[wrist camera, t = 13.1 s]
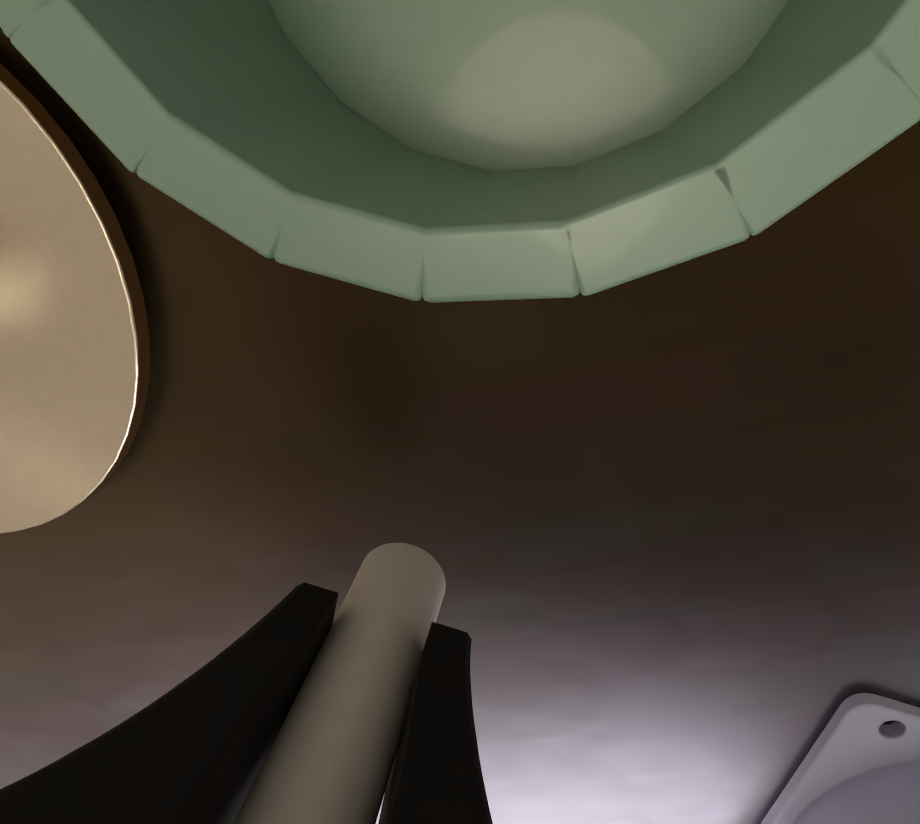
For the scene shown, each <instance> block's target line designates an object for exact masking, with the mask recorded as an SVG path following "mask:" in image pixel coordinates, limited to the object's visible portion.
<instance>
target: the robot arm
mask: <svg viewBox="0 0 920 824" xmlns="http://www.w3.org/2000/svg"><path fill="white" fill-rule="evenodd" d="M337 597H338V593H337V592H334V591H330V590H327V589H324V588H321V587H317V586H314V585H311V584H308V583H302V584H300V585H298V586H296V587H295V588H294V589H293V590H292V591H291V592H290V593H289V594H288V595H287V596H286V597H285V598H284V599H283V600H282V601H281V602H280V603H279V604H278V605H277V606H276V607H275V608H273V609H272V610H271V611H270V612H269V613H268V614H267V615H266V616H265V617H263V618H262V619H261V620H260V621H259V622H258V623H257V624H255V625H254V626H253V627H252V628H251V629H250V630H248V631H247V632H246V633H245V634H244V635H242V636H241V637H240V638H239V639H237V640H236V641H235V642H234V643H233V644H231V645H230V646H229V647H228V648H226V649H225V650H224V651H223V652H221V653H220V654H219V655H218V656H216V657H215V658H214V659H213V660H211V661H210V662H209V663H207V664H206V665H205V666H204V667H202V668H201V669H199V670H198V671H197V672H195V673H194V674H193V675H191V676H190V677H188V678H187V679H186V680H184V681H183V682H181V683H180V684H179V685H177V686H176V687H175V688H173V689H172V690H170V691H169V692H168V693H166V694H165V695H163V696H162V697H161V698H159V699H158V700H156V701H155V702H153V703H152V704H150V705H149V706H147V707H146V708H144V709H143V710H141V711H140V712H138V713H137V714H135V715H133V716H132V717H130V718H129V719H127V720H126V721H124V722H122V723H121V724H119V725H117V726H116V727H114V728H113V729H111V730H109V731H108V732H106V733H104V734H103V735H101V736H99V737H98V738H96V739H94V740H92V741H91V742H89V743H87V744H85V745H84V746H82V747H80V748H78V749H77V750H75V751H73V752H71V753H69V754H68V755H66V756H64V757H62V758H61V759H59V760H57V761H55V762H54V763H52V764H50V765H48V766H46V767H44V768H42V769H40V770H38V771H37V772H35V773H33V774H31V775H29V776H27V777H25V778H23V779H21V780H19V781H17V782H15V783H13V784H11V785H9V786H6V787H4V788H2V789H0V824H234V822H235V820H236V818H237V816H238V814H239V812H240V810H241V808H242V806H243V804H244V802H245V800H246V798H247V795H248V793H249V791H250V789H251V787H252V785H253V783H254V781H255V779H256V777H257V775H258V773H259V771H260V769H261V767H262V765H263V763H264V761H265V759H266V757H267V755H268V753H269V751H270V749H271V747H272V745H273V743H274V741H275V739H276V737H277V735H278V733H279V731H280V729H281V727H282V725H283V723H284V721H285V719H286V717H287V715H288V713H289V710H290V708H291V706H292V704H293V702H294V700H295V698H296V696H297V694H298V692H299V690H300V688H301V686H302V684H303V682H304V680H305V678H306V677H307V675H308V673H309V671H310V669H311V667H312V665H313V663H314V661H315V659H316V657H317V655H318V653H319V651H320V649H321V647H322V645H323V643H324V641H325V639H326V637H327V635H328V633H329V631H330V628H331V626H332V623H333V618H334V612H335V607H336V602H337ZM471 641H472V640H471V638H470V636H469V635H468V633H467V632H464V631H461V630H457V629H454V628H451V627H448V626H444V625H441V624H438V623H435V622H432V623H431V626H430V629H429V633H428V636H427V639H426V642H425V645H424V648H423V651H422V655H421V658H420V662H419V665H418V669H417V673H416V676H415V680H414V683H413V687H412V691H411V694H410V698H409V702H408V707H407V711H406V716H405V721H404V726H403V730H402V735H401V739H400V743H399V746H398V750H397V753H396V756H395V760H394V763H393V766H392V770H391V773H390V776H389V780H388V783H387V786H386V790H385V795H384V800H383V804H382V809H381V814H380V819H379V824H492V819H491V815H490V811H489V806H488V801H487V796H486V791H485V786H484V782H483V777H482V771H481V765H480V760H479V754H478V746H477V739H476V732H475V725H474V717H473V708H472V696H471V681H470V650H471ZM891 720H893V721H894V722H892V723H888V724H883V723H884V722H887V721H891ZM761 824H920V708H919V707H916V706H912V705H909V704H906V703H902V702H899V701H896V700H892V699H889V698H886V697H882V696H879V695H876V694H870V693H859V694H854V695H852V696H850V697H848V698H846V699H845V700H844V701H843V702H842V703H841V705H840V706H839V708H838V709H837V711H836V712H835V714H834V715H833V717H832V718H831V720H830V721H829V723H828V724H827V726H826V727H825V728H824V730H823V731H822V733H821V734H820V736H819V737H818V739H817V740H816V742H815V743H814V745H813V746H812V748H811V749H810V751H809V752H808V754H807V755H806V757H805V758H804V760H803V761H802V763H801V764H800V766H799V767H798V769H797V770H796V772H795V773H794V775H793V776H792V778H791V779H790V781H789V782H788V784H787V785H786V787H785V788H784V790H783V791H782V793H781V794H780V796H779V797H778V799H777V800H776V802H775V803H774V805H773V806H772V808H771V809H770V811H769V812H768V813H767V815H766V816H765V818H764V819H763V821H762V822H761Z"/></svg>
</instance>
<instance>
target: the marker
mask: <svg viewBox="0 0 920 824" xmlns="http://www.w3.org/2000/svg"><path fill="white" fill-rule="evenodd" d="M445 588H446V582H445V577H444V574H443V571H442V569H441V567H440V565H439V564H438V562H437V561H436V560H435V559H434V558H433V557H432V556H431V555H430V554H429V553H428V552H426V551H425V550H423V549H421V548H419V547H417V546H414V545H411V544H407V543H388V544H384V545H381V546H379V547H377V548H375V549H374V550H372V551H371V552H370V553H369V554H368V555H367V556H366V557H365V559H364V561H363V563H362V565H361V567H360V569H359V571H358V573H357V575H356V577H355V579H354V581H353V583H352V585H351V587H350V589H349V591H348V593H347V595H346V597H345V599H344V601H343V603H342V605H341V607H340V609H339V611H338V613H337V615H336V617H335V619H334V621H333V623H332V626H331V628H330V631H329V633H328V635H327V637H326V639H325V641H324V643H323V645H322V647H321V649H320V651H319V653H318V655H317V657H316V659H315V661H314V663H313V665H312V667H311V669H310V671H309V673H308V675H307V677H306V678H305V680H304V682H303V684H302V686H301V688H300V690H299V692H298V694H297V696H296V698H295V700H294V702H293V704H292V706H291V708H290V710H289V713H288V715H287V717H286V719H285V721H284V723H283V725H282V727H281V729H280V731H279V733H278V735H277V737H276V739H275V741H274V743H273V745H272V747H271V749H270V751H269V753H268V755H267V757H266V759H265V761H264V763H263V765H262V767H261V769H260V771H259V773H258V775H257V777H256V779H255V781H254V783H253V785H252V787H251V789H250V791H249V793H248V795H247V798H246V800H245V802H244V804H243V806H242V808H241V810H240V812H239V814H238V816H237V818H236V820H235V822H234V824H375V823H376V820H377V816H378V813H379V810H380V806H381V803H382V800H383V796H384V793H385V790H386V786H387V783H388V780H389V776H390V773H391V770H392V766H393V763H394V760H395V756H396V753H397V750H398V746H399V743H400V739H401V735H402V730H403V726H404V721H405V716H406V711H407V707H408V702H409V698H410V694H411V691H412V687H413V683H414V680H415V676H416V673H417V669H418V665H419V662H420V658H421V655H422V651H423V648H424V645H425V642H426V639H427V636H428V633H429V629H430V626H431V623H432V622H435V623H436V620H437V617H438V613H439V610H440V607H441V603H442V600H443V597H444V593H445Z"/></svg>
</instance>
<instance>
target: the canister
mask: <svg viewBox="0 0 920 824" xmlns="http://www.w3.org/2000/svg"><path fill="white" fill-rule="evenodd" d="M0 27H1V29H2V30H3V32H4V34H5V35H6V36H7V37H9V38H10V41H11V43H12V44H13V45H14V46H15V48H16V49H17V50H18V51H19V52H20V53H21V54H22V55H23V56H24V57H25V58H26V59H27V61H28V62H29V63H30V64H31V65H32V66H33V67H34V68H35V69H36V70H37V71H38V72H39V74H40V75H41V76H42V77H43V78H44V79H45V80H46V81H47V82H48V83H49V84H50V85H51V87H52V88H53V89H54V90H55V91H56V92H57V93H58V94H59V95H60V96H61V97H62V98H63V100H64V101H65V102H66V103H67V104H68V105H69V106H70V107H71V108H72V109H73V110H74V111H75V113H76V114H77V115H78V116H79V117H80V118H81V119H82V120H83V121H84V122H85V123H86V124H87V126H88V127H89V128H90V129H91V130H92V131H93V132H94V133H95V134H96V135H97V136H98V137H99V139H100V140H101V141H102V142H103V143H104V144H105V145H106V146H107V147H108V148H109V149H110V150H111V152H112V153H113V154H114V155H115V156H116V157H117V158H118V159H119V160H120V161H121V162H122V164H123V165H124V166H125V167H126V168H127V169H128V170H129V171H131V172H133V173H135V172H137V175H138V176H139V177H140V178H141V179H143V180H144V181H146V182H148V183H149V184H151V185H152V186H154V187H155V188H157V189H159V190H160V191H162V192H163V193H165V194H166V195H168V196H170V197H171V198H173V199H174V200H176V201H177V202H179V203H181V204H182V205H184V206H185V207H187V208H189V209H190V210H192V211H193V212H195V213H196V214H198V215H200V216H201V217H203V218H204V219H206V220H207V221H209V222H211V223H212V224H214V225H215V226H217V227H219V228H220V229H222V230H223V231H225V232H226V233H228V234H230V235H231V236H233V237H234V238H236V239H237V240H239V241H241V242H242V243H244V244H245V245H247V246H249V247H250V248H252V249H253V250H255V251H256V252H258V253H260V254H261V255H263V256H264V257H266V258H271V259H272V258H275V261H277V262H279V263H280V264H283V265H287V266H291V267H294V268H298V269H301V270H305V271H308V272H312V273H316V274H319V275H323V276H326V277H330V278H334V279H337V280H341V281H344V282H348V283H351V284H355V285H359V286H362V287H366V288H369V289H373V290H377V291H380V292H384V293H387V294H391V295H394V296H398V297H402V298H405V299H409V300H412V301H417V300H421V298H422V297H423V298H424V300H425V301H428V302H431V303H435V302H463V301H490V300H517V299H544V298H571V297H574V296H576V295H579V293H580V292H581V294H582V295H588V296H589V295H591V294H594V293H597V292H600V291H603V290H606V289H608V288H611V287H614V286H617V285H620V284H623V283H626V282H628V281H631V280H634V279H637V278H640V277H643V276H645V275H648V274H651V273H654V272H657V271H660V270H663V269H665V268H668V267H671V266H674V265H677V264H680V263H683V262H685V261H688V260H691V259H694V258H697V257H700V256H702V255H705V254H708V253H711V252H714V251H717V250H720V249H722V248H725V247H728V246H731V245H734V244H737V243H739V242H742V241H745V240H746V239H747V238H748V237H749V235H750V234H751V235H753V236H754V235H757V234H759V233H761V232H762V231H763V230H765V229H766V228H768V227H769V226H771V225H772V224H773V223H775V222H776V221H778V220H779V219H780V218H782V217H783V216H785V215H786V214H788V213H789V212H790V211H792V210H793V209H795V208H796V207H798V206H799V205H800V204H802V203H803V202H805V201H806V200H808V199H809V198H810V197H812V196H813V195H815V194H816V193H817V192H819V191H820V190H822V189H823V188H825V187H826V186H827V185H829V184H830V183H832V182H833V181H835V180H836V179H837V178H839V177H840V176H842V175H843V174H845V173H846V172H847V171H849V170H850V169H852V168H853V167H854V166H856V165H857V164H859V163H860V162H862V161H863V160H864V159H866V158H867V157H869V156H870V155H872V154H873V153H874V152H876V151H877V150H879V149H880V148H882V147H883V146H884V145H886V144H887V143H889V142H890V141H891V140H893V139H894V138H896V137H897V136H899V135H900V134H901V133H903V132H904V131H906V130H907V129H909V128H910V127H911V126H913V125H914V124H916V123H917V122H918V121H920V0H0Z"/></svg>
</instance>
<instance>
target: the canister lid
mask: <svg viewBox="0 0 920 824" xmlns="http://www.w3.org/2000/svg"><path fill="white" fill-rule="evenodd" d="M150 367H151V364H150V333H149V326H148V320H147V313H146V307H145V301H144V295H143V291H142V288H141V284H140V281H139V277H138V274H137V270H136V266H135V263H134V259H133V256H132V254H131V251H130V249H129V246H128V244H127V241H126V239H125V236H124V234H123V231H122V229H121V226H120V224H119V221H118V219H117V217H116V215H115V213H114V211H113V209H112V207H111V205H110V204H109V202H108V200H107V198H106V196H105V194H104V192H103V190H102V188H101V186H100V185H99V183H98V181H97V179H96V177H95V176H94V174H93V173H92V171H91V170H90V168H89V167H88V165H87V164H86V162H85V161H84V159H83V158H82V156H81V155H80V153H79V152H78V150H77V149H76V147H75V146H74V144H73V143H72V141H71V140H70V138H69V137H68V136H67V135H66V134H65V132H64V131H63V130H62V129H61V127H60V126H59V125H58V124H57V122H56V121H55V120H54V119H53V118H52V116H51V115H50V114H49V113H48V111H47V110H46V109H45V108H44V106H43V105H42V104H41V103H40V102H39V101H38V100H37V99H36V98H35V97H34V96H33V95H32V94H31V93H30V92H29V91H28V90H27V89H26V88H25V87H24V86H23V85H22V84H21V83H20V82H19V81H18V80H17V79H16V78H15V77H14V76H13V75H12V74H11V73H10V72H9V71H8V70H7V69H6V68H5V67H4V66H2V65H1V64H0V533H7V532H15V531H20V530H24V529H27V528H31V527H35V526H38V525H42V524H45V523H47V522H49V521H51V520H53V519H55V518H57V517H60V516H62V515H64V514H66V513H67V512H69V511H70V510H72V509H73V508H75V507H76V506H77V505H79V504H80V503H82V502H83V501H84V500H86V499H87V498H88V497H90V496H91V495H92V494H93V493H95V492H96V491H97V490H98V489H99V488H100V487H101V486H102V485H103V484H104V483H105V482H106V481H107V480H108V479H109V478H110V477H111V476H112V475H113V474H114V472H115V471H116V469H117V468H118V466H119V465H120V463H121V462H122V460H123V459H124V457H125V456H126V454H127V453H128V451H129V449H130V447H131V445H132V442H133V440H134V438H135V436H136V433H137V431H138V429H139V427H140V423H141V419H142V415H143V412H144V408H145V404H146V400H147V395H148V385H149V376H150Z"/></svg>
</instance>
